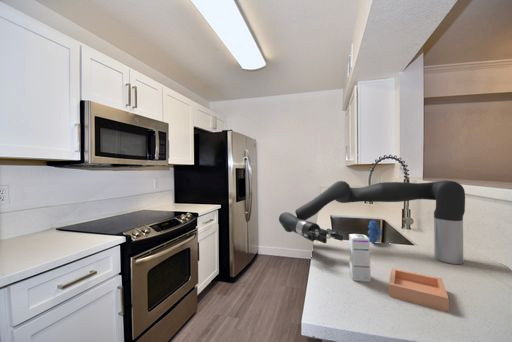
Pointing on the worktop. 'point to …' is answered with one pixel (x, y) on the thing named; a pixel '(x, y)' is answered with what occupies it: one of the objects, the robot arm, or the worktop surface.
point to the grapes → (373, 231)
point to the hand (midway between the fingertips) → (334, 239)
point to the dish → (418, 289)
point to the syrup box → (359, 257)
